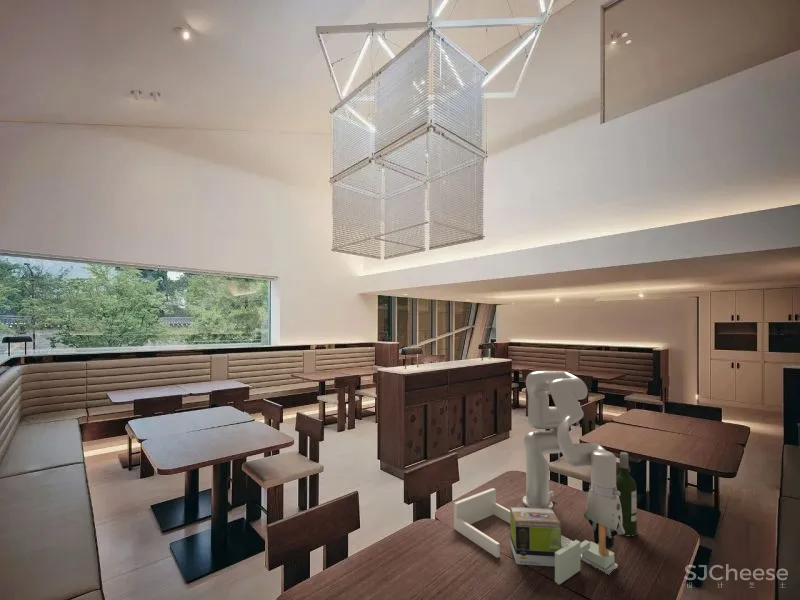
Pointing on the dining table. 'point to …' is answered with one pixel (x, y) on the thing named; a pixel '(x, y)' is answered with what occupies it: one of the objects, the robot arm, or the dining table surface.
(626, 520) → the wine bottle
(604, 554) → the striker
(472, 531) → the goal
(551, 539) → the tea box
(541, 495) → the robot arm
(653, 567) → the dining table surface
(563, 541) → the rail
